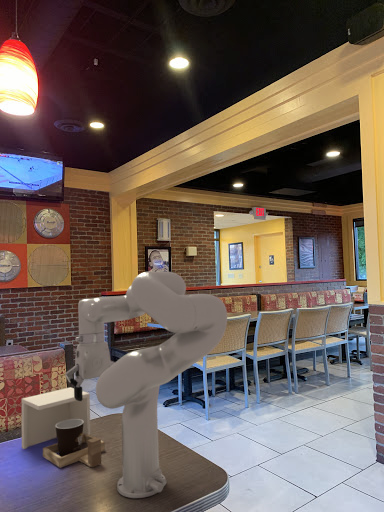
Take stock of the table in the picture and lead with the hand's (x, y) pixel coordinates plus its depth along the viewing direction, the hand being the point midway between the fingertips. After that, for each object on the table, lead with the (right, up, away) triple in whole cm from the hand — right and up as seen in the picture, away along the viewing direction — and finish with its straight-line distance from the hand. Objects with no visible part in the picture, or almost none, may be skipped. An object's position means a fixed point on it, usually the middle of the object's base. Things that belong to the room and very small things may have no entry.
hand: (93, 396), depth 112 cm
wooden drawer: (-5, -20, +4) cm, 22 cm away
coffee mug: (-8, -21, +7) cm, 24 cm away
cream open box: (-17, -22, +15) cm, 32 cm away
